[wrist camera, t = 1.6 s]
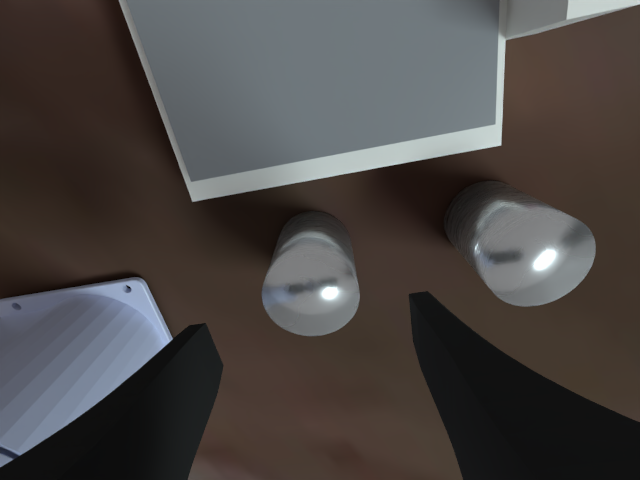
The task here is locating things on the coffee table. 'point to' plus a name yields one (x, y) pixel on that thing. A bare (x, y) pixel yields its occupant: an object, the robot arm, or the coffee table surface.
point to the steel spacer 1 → (312, 276)
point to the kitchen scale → (330, 81)
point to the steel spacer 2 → (519, 243)
